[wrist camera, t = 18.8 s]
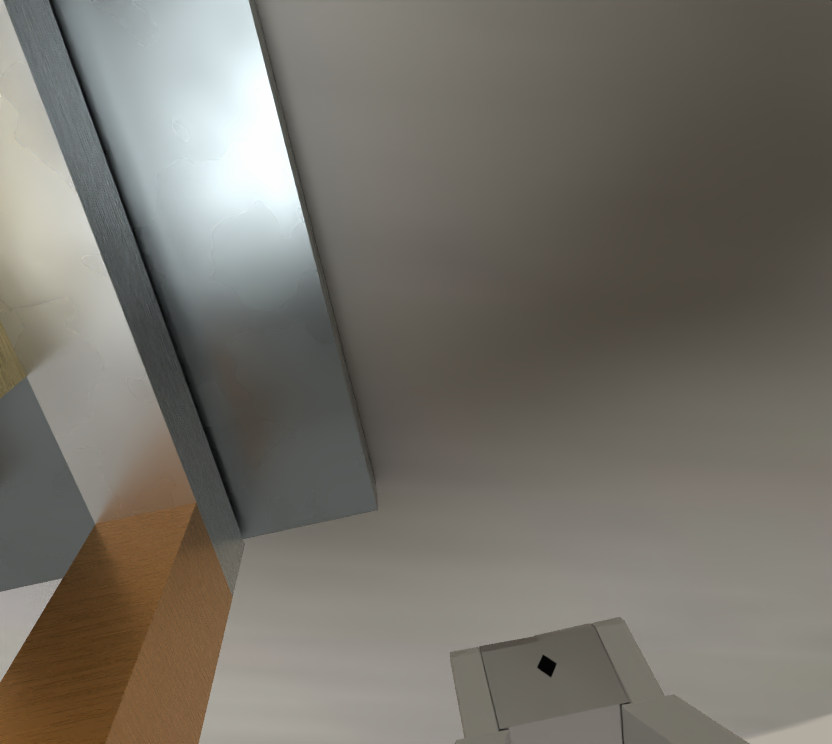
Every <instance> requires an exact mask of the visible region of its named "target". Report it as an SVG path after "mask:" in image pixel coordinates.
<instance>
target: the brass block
mask: <svg viewBox="0 0 832 744" xmlns="http://www.w3.org/2000/svg"><path fill="white" fill-rule="evenodd" d="M25 377H26V374H25V372H24V370H23V368H22V366H21V364H20V361H19V359H18V357H17V355H16V353H15V351H14V348H13V346H12V344H11V342H10V340H9V338H8V336H7V333H6V331H5V329H4V327H3V325H2V323H1V321H0V398H1V397H3V396H4V395H5V394H6V393H7V392H9V391H10V390H11V389H12V388H13V387H14V386H16V385H17V384H18V383H19V382H20V381H22V380H23V379H24V378H25Z"/></svg>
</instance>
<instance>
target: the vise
mask: <svg viewBox="0 0 832 744" xmlns="http://www.w3.org/2000/svg"><path fill="white" fill-rule="evenodd" d="M49 3H50V6H51V8H52V11H53V14H54V17H55V19H56V22H57V25H58V28H59V31H60V33H61V36H62V39H63V42H64V44H65V47H66V50H67V53H68V56H69V58H70V61H71V64H72V67H73V69H74V72H75V75H76V78H77V80H78V83H79V86H80V89H81V92H82V94H83V97H84V100H85V103H86V105H87V108H88V111H89V114H90V117H91V119H92V122H93V125H94V128H95V130H96V133H97V136H98V139H99V142H100V144H101V147H102V150H103V153H104V155H105V158H106V161H107V164H108V167H109V169H110V172H111V175H112V178H113V180H114V183H115V186H116V189H117V191H118V194H119V197H120V200H121V203H122V205H123V208H124V211H125V214H126V216H127V219H128V222H129V225H130V228H131V230H132V233H133V236H134V239H135V241H136V244H137V247H138V250H139V253H140V255H141V258H142V261H143V264H144V266H145V269H146V272H147V275H148V278H149V280H150V283H151V286H152V289H153V291H154V294H155V297H156V300H157V302H158V305H159V308H160V311H161V314H162V316H163V319H164V322H165V325H166V327H167V330H168V333H169V336H170V339H171V341H172V344H173V347H174V350H175V352H176V355H177V358H178V361H179V364H180V366H181V369H182V372H183V375H184V377H185V380H186V383H187V386H188V389H189V391H190V394H191V397H192V400H193V402H194V405H195V408H196V411H197V413H198V416H199V419H200V422H201V425H202V427H203V430H204V433H205V436H206V438H207V441H208V444H209V447H210V450H211V452H212V455H213V458H214V461H215V463H216V466H217V469H218V472H219V475H220V477H221V480H222V483H223V486H224V488H225V491H226V494H227V497H228V500H229V502H230V505H231V508H232V511H233V513H234V516H235V519H236V522H237V524H238V527H239V530H240V533H241V536H242V538H243V539H245V538H250V537H254V536H259V535H264V534H268V533H273V532H277V531H282V530H287V529H291V528H296V527H301V526H305V525H310V524H314V523H319V522H324V521H328V520H333V519H337V518H342V517H347V516H351V515H356V514H361V513H365V512H370V511H374V510H378V506H377V493H376V482H375V478H374V474H373V470H372V466H371V462H370V458H369V454H368V450H367V446H366V442H365V438H364V434H363V430H362V426H361V422H360V418H359V414H358V410H357V406H356V402H355V398H354V394H353V390H352V386H351V382H350V378H349V374H348V370H347V366H346V362H345V358H344V354H343V350H342V346H341V342H340V338H339V334H338V330H337V326H336V322H335V318H334V314H333V310H332V306H331V302H330V298H329V294H328V290H327V286H326V282H325V278H324V274H323V270H322V266H321V262H320V258H319V254H318V250H317V246H316V242H315V238H314V234H313V230H312V226H311V222H310V218H309V214H308V210H307V206H306V202H305V198H304V194H303V190H302V186H301V182H300V178H299V174H298V170H297V166H296V162H295V158H294V154H293V150H292V146H291V142H290V138H289V134H288V130H287V126H286V122H285V118H284V114H283V110H282V106H281V102H280V98H279V94H278V90H277V86H276V82H275V78H274V74H273V70H272V66H271V62H270V58H269V54H268V50H267V46H266V42H265V38H264V34H263V31H262V27H261V23H260V19H259V15H258V11H257V7H256V3H255V0H49ZM94 526H95V523H94V520H93V518H92V516H91V514H90V512H89V510H88V507H87V505H86V503H85V501H84V499H83V497H82V495H81V492H80V490H79V488H78V486H77V484H76V482H75V480H74V477H73V475H72V473H71V471H70V469H69V467H68V464H67V462H66V460H65V458H64V456H63V454H62V452H61V449H60V447H59V445H58V443H57V441H56V439H55V437H54V434H53V432H52V430H51V428H50V426H49V424H48V422H47V419H46V417H45V415H44V413H43V411H42V409H41V406H40V404H39V402H38V400H37V398H36V396H35V394H34V391H33V389H32V387H31V385H30V383H29V381H28V379H27V376H26V377H25V378H24V379H23V380H22V381H20V382H19V383H18V384H17V385H16V386H14V387H13V388H12V389H11V390H10V391H9V392H7V393H6V394H5V395H4V396H3V397H1V398H0V592H1V591H5V590H10V589H14V588H19V587H24V586H28V585H33V584H37V583H42V582H47V581H51V580H56V579H61V578H63V577H64V576H65V574H66V572H67V571H68V569H69V567H70V566H71V564H72V562H73V561H74V559H75V557H76V556H77V554H78V552H79V551H80V549H81V547H82V546H83V544H84V542H85V541H86V539H87V537H88V536H89V534H90V532H91V531H92V529H93V527H94Z"/></svg>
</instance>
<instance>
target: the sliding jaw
mask: <svg viewBox="0 0 832 744" xmlns="http://www.w3.org/2000/svg"><path fill="white" fill-rule="evenodd" d="M0 321H1V323H2V325H3V327H4V329H5V331H6V333H7V336H8V338H9V340H10V342H11V344H12V346H13V348H14V351H15V353H16V355H17V357H18V359H19V361H20V364H21V366H22V368H23V370H24V372H25V374H26V376H27V379H28V381H29V383H30V385H31V387H32V389H33V391H34V394H35V396H36V398H37V400H38V402H39V404H40V406H41V409H42V411H43V413H44V415H45V417H46V419H47V422H48V424H49V426H50V428H51V430H52V432H53V434H54V437H55V439H56V441H57V443H58V445H59V447H60V449H61V452H62V454H63V456H64V458H65V460H66V462H67V464H68V467H69V469H70V471H71V473H72V475H73V477H74V480H75V482H76V484H77V486H78V488H79V490H80V492H81V495H82V497H83V499H84V501H85V503H86V505H87V507H88V510H89V512H90V514H91V516H92V518H93V520H94V523H95V526H94V527H93V529H92V531H91V532H90V534H89V536H88V537H87V539H86V541H85V542H84V544H83V546H82V547H81V549H80V551H79V552H78V554H77V556H76V557H75V559H74V561H73V562H72V564H71V566H70V567H69V569H68V571H67V572H66V574H65V576H64V577H63V579H62V581H61V582H60V584H59V586H58V587H57V589H56V591H55V592H54V594H53V596H52V597H51V599H50V601H49V602H48V604H47V606H46V607H45V609H44V611H43V612H42V614H41V616H40V617H39V619H38V621H37V622H36V624H35V626H34V627H33V629H32V631H31V632H30V634H29V636H28V637H27V639H26V641H25V642H24V644H23V646H22V647H21V649H20V651H19V652H18V654H17V656H16V657H15V659H14V661H13V662H12V664H11V666H10V667H9V669H8V671H7V672H6V674H5V676H4V677H3V679H2V681H1V682H0V744H198V743H199V739H200V735H201V730H202V726H203V722H204V717H205V713H206V709H207V705H208V700H209V696H210V692H211V687H212V683H213V679H214V674H215V670H216V666H217V662H218V657H219V653H220V649H221V644H222V640H223V636H224V631H225V627H226V623H227V619H228V614H229V610H230V606H231V601H232V597H233V593H234V588H235V584H236V580H237V576H238V571H239V567H240V563H241V558H242V554H243V550H244V546H245V544H244V541H243V538H242V536H241V533H240V530H239V527H238V524H237V522H236V519H235V516H234V513H233V511H232V508H231V505H230V502H229V500H228V497H227V494H226V491H225V488H224V486H223V483H222V480H221V477H220V475H219V472H218V469H217V466H216V463H215V461H214V458H213V455H212V452H211V450H210V447H209V444H208V441H207V438H206V436H205V433H204V430H203V427H202V425H201V422H200V419H199V416H198V413H197V411H196V408H195V405H194V402H193V400H192V397H191V394H190V391H189V389H188V386H187V383H186V380H185V377H184V375H183V372H182V369H181V366H180V364H179V361H178V358H177V355H176V352H175V350H174V347H173V344H172V341H171V339H170V336H169V333H168V330H167V327H166V325H165V322H164V319H163V316H162V314H161V311H160V308H159V305H158V302H157V300H156V297H155V294H154V291H153V289H152V286H151V283H150V280H149V278H148V275H147V272H146V269H145V266H144V264H143V261H142V258H141V255H140V253H139V250H138V247H137V244H136V241H135V239H134V236H133V233H132V230H131V228H130V225H129V222H128V219H127V216H126V214H125V211H124V208H123V205H122V203H121V200H120V197H119V194H118V191H117V189H116V186H115V183H114V180H113V178H112V175H111V172H110V169H109V167H108V164H107V161H106V158H105V155H104V153H103V150H102V147H101V144H100V142H99V139H98V136H97V133H96V130H95V128H94V125H93V122H92V119H91V117H90V114H89V111H88V108H87V105H86V103H85V100H84V97H83V94H82V92H81V89H80V86H79V83H78V80H77V78H76V75H75V72H74V69H73V67H72V64H71V61H70V58H69V56H68V53H67V50H66V47H65V44H64V42H63V39H62V36H61V33H60V31H59V28H58V25H57V22H56V19H55V17H54V14H53V11H52V8H51V6H50V3H49V0H0Z"/></svg>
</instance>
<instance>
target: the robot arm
mask: <svg viewBox="0 0 832 744" xmlns="http://www.w3.org/2000/svg"><path fill="white" fill-rule="evenodd" d="M450 662H451V667H452V672H453V678H454V683H455V689H456V694H457V700H458V705H459V711H460V716H461V722H462V727H463V733H464V739H460V740H456V742H455V744H749V743H748V742H746V741H745V740H743V739H742V738H740V737H739V736H737V735H736V734H734V733H732V732H731V731H729V730H728V729H726V728H725V727H723V726H722V725H720V724H719V723H717V722H716V721H714V720H712V719H711V718H709V717H708V716H706V715H705V714H703V713H702V712H700V711H699V710H697V709H696V708H694V707H692V706H691V705H689V704H688V703H686V702H685V701H683V700H682V699H680V698H679V697H677V696H676V695H674V694H673V695H667V696H665V695H664V693H663V692H662V690H661V688H660V686H659V684H658V682H657V680H656V679H655V677H654V675H653V673H652V671H651V669H650V667H649V665H648V664H647V662H646V660H645V658H644V656H643V654H642V652H641V651H640V649H639V647H638V645H637V643H636V641H635V639H634V638H633V636H632V634H631V632H630V630H629V628H628V626H627V624H626V623H625V621H624V620H623V619H622V618H620V617H618V618H613V619H608V620H604V621H599V622H594V623H592V624H590V623H589V624H584V625H580V626H575V627H571V628H566V629H562V630H557V631H553V632H548V633H544V634H539V635H535V636H533V637H528V638H522V639H517V640H511V641H506V642H500V643H495V644H489V645H484V646H479V648H478V647H476V648H470V649H465V650H459V651H454V652H450Z"/></svg>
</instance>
